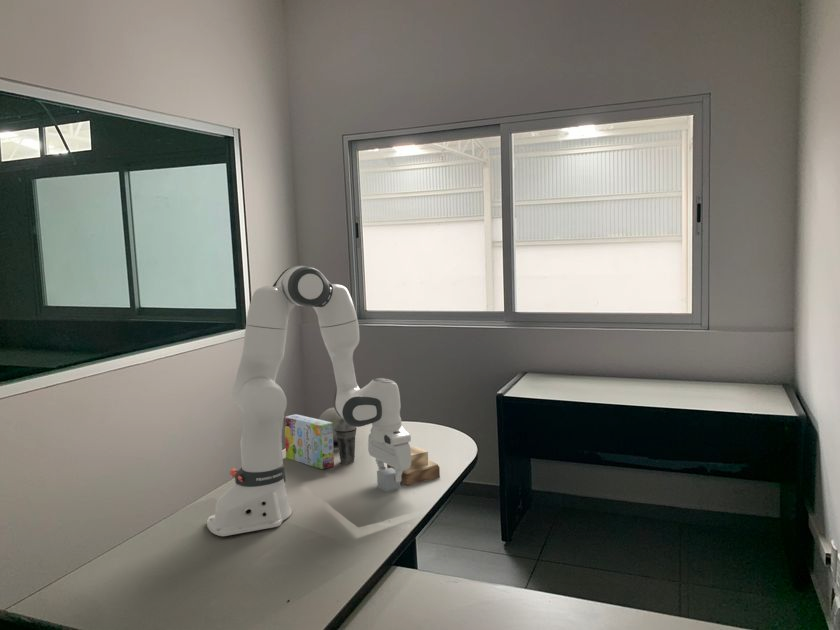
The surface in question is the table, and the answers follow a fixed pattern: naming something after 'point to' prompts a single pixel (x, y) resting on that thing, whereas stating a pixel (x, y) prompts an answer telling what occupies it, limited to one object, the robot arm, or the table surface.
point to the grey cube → (387, 480)
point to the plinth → (419, 473)
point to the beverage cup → (346, 441)
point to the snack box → (309, 441)
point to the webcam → (333, 417)
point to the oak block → (418, 457)
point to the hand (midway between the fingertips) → (389, 476)
